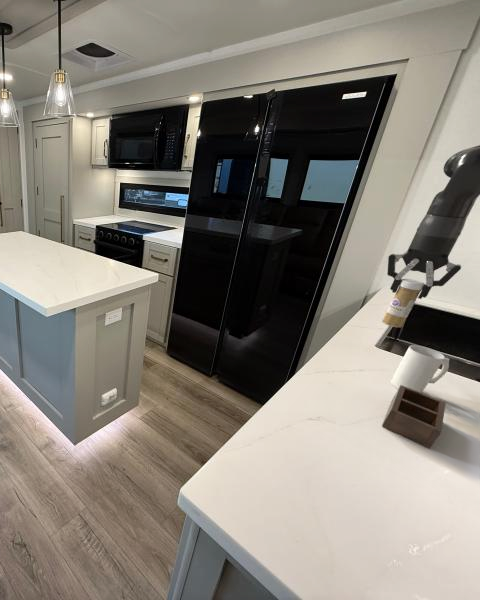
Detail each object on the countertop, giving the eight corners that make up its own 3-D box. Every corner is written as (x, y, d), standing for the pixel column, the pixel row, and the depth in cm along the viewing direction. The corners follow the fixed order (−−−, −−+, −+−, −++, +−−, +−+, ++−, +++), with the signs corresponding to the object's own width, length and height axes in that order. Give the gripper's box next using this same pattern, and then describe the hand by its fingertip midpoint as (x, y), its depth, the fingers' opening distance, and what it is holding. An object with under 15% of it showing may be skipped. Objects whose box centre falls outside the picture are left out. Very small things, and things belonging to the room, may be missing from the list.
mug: (400, 393, 84) (421, 356, 80) (383, 378, 91) (402, 343, 86) (443, 400, 83) (468, 363, 78) (423, 384, 89) (445, 349, 84)
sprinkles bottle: (377, 321, 91) (397, 278, 86) (388, 320, 92) (409, 277, 87) (395, 328, 87) (417, 284, 82) (406, 327, 88) (429, 283, 83)
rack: (435, 418, 76) (445, 402, 74) (429, 449, 67) (441, 432, 65) (391, 399, 82) (400, 384, 80) (381, 426, 73) (391, 410, 71)
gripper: (480, 237, 76) (444, 300, 83) (401, 227, 86) (375, 284, 93) (479, 240, 72) (442, 307, 79) (397, 230, 82) (370, 289, 89)
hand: (406, 294), depth 86 cm, fingers closed on sprinkles bottle, 4 cm apart
